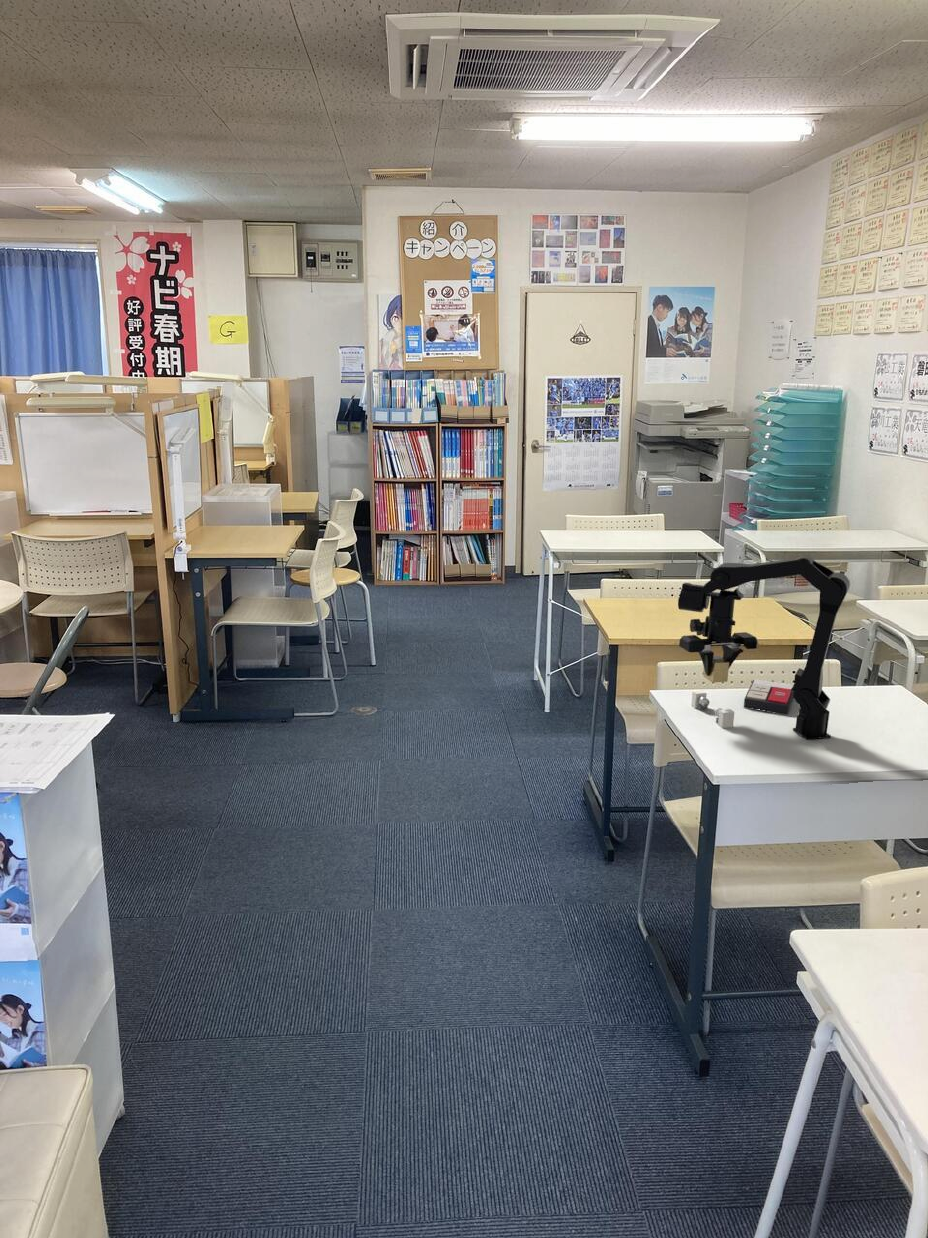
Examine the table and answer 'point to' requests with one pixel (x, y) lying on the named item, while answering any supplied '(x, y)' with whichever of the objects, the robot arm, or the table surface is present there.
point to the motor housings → (724, 715)
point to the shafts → (704, 703)
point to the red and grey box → (769, 696)
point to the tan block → (718, 670)
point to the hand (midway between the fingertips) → (715, 675)
